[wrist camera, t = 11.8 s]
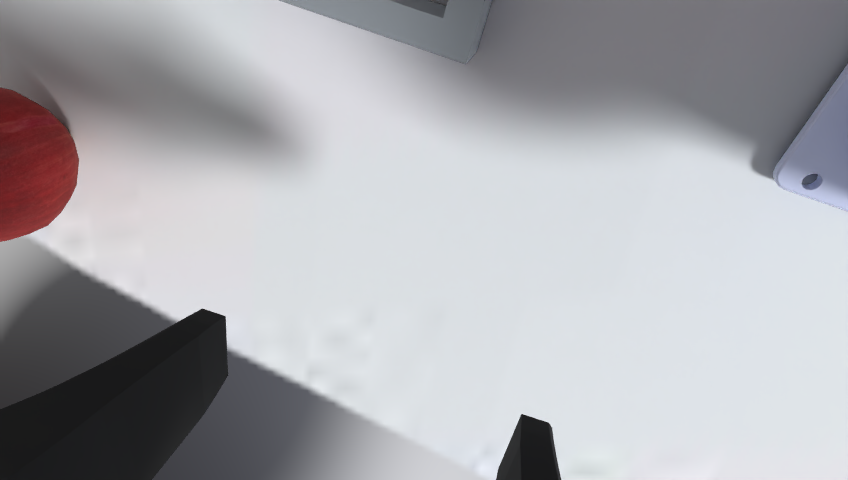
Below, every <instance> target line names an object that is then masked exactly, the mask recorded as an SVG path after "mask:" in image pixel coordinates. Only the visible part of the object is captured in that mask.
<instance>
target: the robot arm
mask: <svg viewBox="0 0 848 480" xmlns="http://www.w3.org/2000/svg"><path fill="white" fill-rule="evenodd" d="M810 174H818V177H817V179H816V180H815V181H814V182H813V183H810V184H807V185H806V184H802V181H803V179H804V178H805V177H806V176H807V175H810ZM773 178H774V180H775V181H776V183H777V184H778V186H779V187H781V188H783V189H784V190H787V191H790V192H793V193H796V194H799V195H801V196H804V197H807V198H810V199H813V200H816V201H819V202H822V203H825V204H828V205H831V206H833V207H836V208H839V209H842V210H845V211H848V64H847V65H846V67H845V68H844V70H843V71H842V73H841V74H840V75H839V77H838V78H837V80H836V81H835V82H834V84H833V85H832V87H831V88H830V90H829V91H828V92H827V94H826V95H825V97H824V98H823V100H822V101H821V102H820V104H819V105H818V107H817V108H816V109H815V111H814V112H813V114H812V115H811V117H810V118H809V119H808V121H807V122H806V124H805V125H804V126H803V128H802V129H801V131H800V132H799V134H798V135H797V136H796V138H795V139H794V141H793V142H792V144H791V145H790V146H789V148H788V149H787V151H786V152H785V153H784V155H783V156H782V158H781V159H780V161H779V162H778V163H777V165H776V166H775V169H774V171H773ZM227 376H228V365H227V341H226V317H225V316H223V315H220V314H217V313H214V312H211V311H208V310H205V309H201V310H199V311H197V312H195V313H193V314H192V315H190V316H188V317H186V318H184V319H182V320H181V321H179V322H177V323H175V324H174V325H172V326H170V327H168V328H167V329H165V330H163V331H161V332H159V333H157V334H156V335H154V336H152V337H150V338H148V339H147V340H145V341H143V342H141V343H140V344H138V345H136V346H134V347H132V348H130V349H128V350H126V351H125V352H123V353H121V354H119V355H117V356H115V357H113V358H111V359H110V360H108V361H106V362H104V363H102V364H100V365H98V366H96V367H94V368H92V369H90V370H88V371H86V372H84V373H82V374H80V375H77V376H75V377H73V378H71V379H69V380H67V381H65V382H63V383H61V384H59V385H57V386H54V387H53V388H50V389H48V390H46V391H44V392H41V393H39V394H37V395H34V396H32V397H30V398H27V399H24V400H22V401H20V402H17V403H15V404H12V405H10V406H8V407H5V408H3V409H0V480H152V479H153V478H154V476H155V475H156V474H157V473H158V471H159V470H160V469H161V468H162V466H163V465H164V464H165V463H166V461H167V460H168V459H169V458H170V456H171V455H172V454H173V453H174V451H175V450H176V449H177V448H178V446H179V445H180V444H181V443H182V441H183V440H184V439H185V437H186V436H187V435H188V433H190V431H191V430H192V429H193V427H194V426H195V425H196V423H197V422H198V421H199V420H200V419H201V417H202V416H203V415H204V413H205V412H206V410H207V409H208V407H209V406H210V404H211V402H212V401H213V399H214V398H215V396H216V395H217V393H218V391H219V389H220V388H221V386H222V385H223V383H224V381H225V379H226V378H227ZM496 480H561V477H560V472H559V468H558V462H557V457H556V452H555V446H554V440H553V432H552V427H551V426H550V424H549V423H547V422H544V421H541V420H538V419H535V418H532V417H529V416H526V415H523V414H521V417H520V419H519V421H518V424H517V426H516V428H515V431H514V433H513V436H512V438H511V440H510V443H509V445H508V447H507V450H506V452H505V454H504V457H503V459H502V462H501V464H500V466H499V469H498V473H497V478H496Z"/></svg>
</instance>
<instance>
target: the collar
mask: <svg viewBox="0 0 848 480" xmlns="http://www.w3.org/2000/svg"><path fill="white" fill-rule="evenodd" d="M279 1H282V2H285V3H288V4H291V5H294V6H297V7H300V8H303V9H306V10H308V11H311V12H314V13H317V14H320V15H323V16H326V17H329V18H332V19H335V20H338V21H341V22H344V23H346V24H349V25H352V26H355V27H358V28H361V29H364V30H367V31H370V32H373V33H376V34H379V35H382V36H384V37H387V38H390V39H393V40H396V41H399V42H402V43H405V44H408V45H411V46H414V47H417V48H420V49H422V50H425V51H428V52H431V53H434V54H437V55H440V56H443V57H446V58H449V59H452V60H455V61H458V62H460V63H463V64H467V63H468V61H469V60H470V59H471V58H472V57H473V55H474V54H475V53H476V52H477V49H478V46H479V42H480V39H481V36H482V33H483V29H484V26H485V23H486V20H487V16H488V13H489V10H490V7H491V3H492V0H448V2H447V5H446V6H444V5H441V4H438V3H435V2H432V1H429V0H279Z"/></svg>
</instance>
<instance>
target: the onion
mask: <svg viewBox="0 0 848 480" xmlns="http://www.w3.org/2000/svg"><path fill="white" fill-rule="evenodd" d="M78 164H79V158H78V154H77V150H76V146H75V143H74V140H73V138H72V137H71V135H70V133H69V132H68V130H67V128H66V127H65V126H64V125H63V124H62V123H61V122H60V121H59V120H58V119H57V118H56V117H55V116H54V115H53V114H52V113H51V112H50V111H49V110H47V109H45V108H44V107H42V106H40V105H39V104H37V103H35V102H33V101H32V100H30V99H28V98H26V97H24V96H22V95H21V94H19V93H17V92H15V91H13V90H9V89H5V88H0V242H1V241H7V240H11V239H14V238H17V237H21V236H24V235H27V234H30V233H32V232H34V231H37V230H39V229H41V228H43V227H45V226H48V225H49V224H50V223H51V222H52V221H53V220H54V219H55V218H56V217H57V216H58V215H59V214H60V213H61V212H62V210H63V209H64V207H65V206H66V204H67V203H68V201H69V200H70V198H71V196H72V194H73V192H74V189H75V187H76V185H77V175H78Z"/></svg>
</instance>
